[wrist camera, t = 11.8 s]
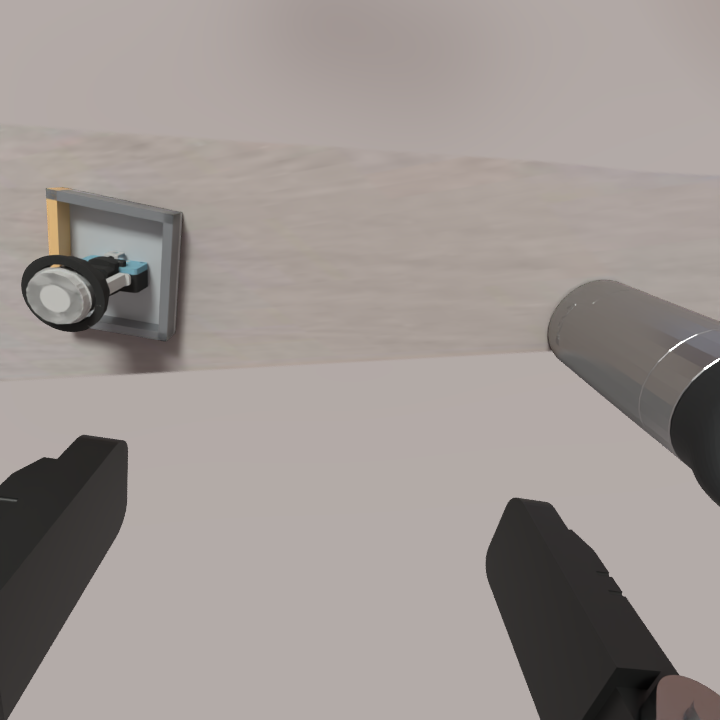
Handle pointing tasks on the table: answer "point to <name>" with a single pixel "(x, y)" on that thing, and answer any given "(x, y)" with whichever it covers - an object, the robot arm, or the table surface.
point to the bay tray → (139, 243)
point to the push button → (79, 287)
